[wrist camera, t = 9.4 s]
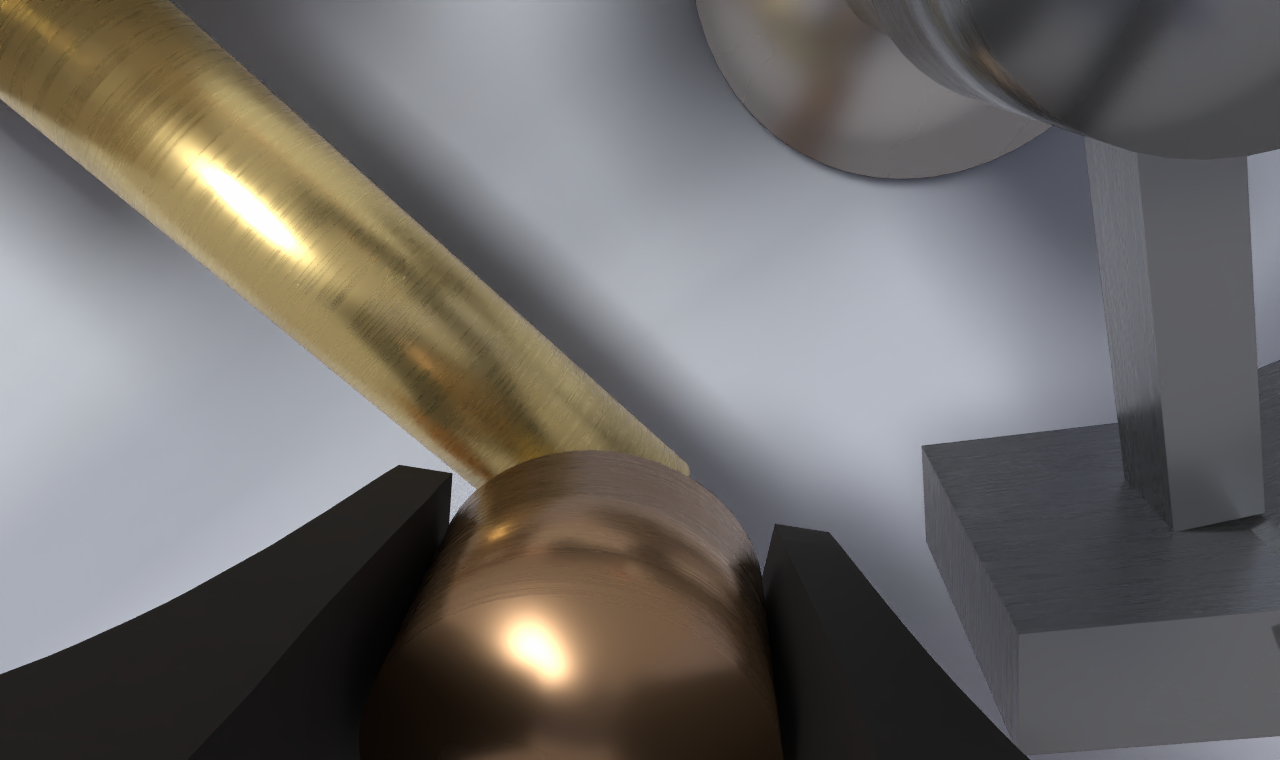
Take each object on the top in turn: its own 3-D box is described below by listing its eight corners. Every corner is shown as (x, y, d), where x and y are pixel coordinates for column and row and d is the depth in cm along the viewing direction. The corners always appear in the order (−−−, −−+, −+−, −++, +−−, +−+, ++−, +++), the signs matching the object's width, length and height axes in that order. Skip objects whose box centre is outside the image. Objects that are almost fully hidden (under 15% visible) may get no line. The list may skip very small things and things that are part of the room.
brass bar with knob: (800, 459, 12) (874, 782, 7) (625, 602, 14) (582, 968, 8) (10, -281, 9) (-819, -630, 4) (-127, -17, 11) (-911, -40, 5)
